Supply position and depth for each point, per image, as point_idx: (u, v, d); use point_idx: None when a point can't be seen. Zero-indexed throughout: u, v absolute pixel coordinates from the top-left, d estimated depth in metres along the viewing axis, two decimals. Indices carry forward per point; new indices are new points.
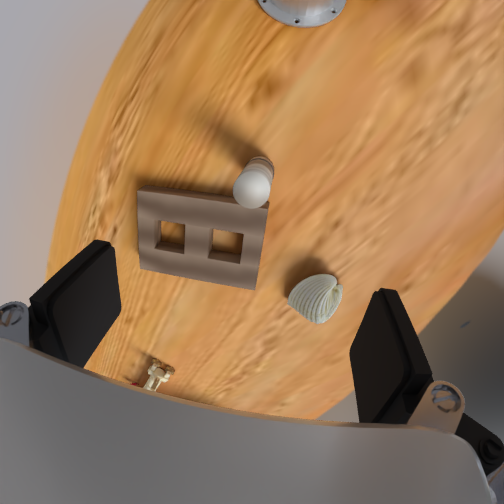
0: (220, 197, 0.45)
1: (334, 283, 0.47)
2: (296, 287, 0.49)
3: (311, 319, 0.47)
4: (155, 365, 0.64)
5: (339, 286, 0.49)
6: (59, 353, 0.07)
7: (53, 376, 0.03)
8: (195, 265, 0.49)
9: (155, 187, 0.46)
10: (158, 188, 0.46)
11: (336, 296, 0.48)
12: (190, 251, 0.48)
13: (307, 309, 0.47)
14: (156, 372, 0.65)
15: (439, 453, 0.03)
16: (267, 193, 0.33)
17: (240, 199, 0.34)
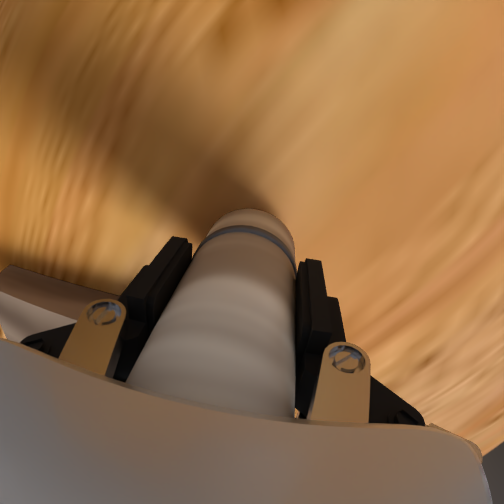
0: None
1: None
2: None
3: None
4: None
5: None
6: None
7: (53, 376, 0.03)
8: None
9: (21, 273, 0.17)
10: (24, 277, 0.17)
11: None
12: None
13: None
14: None
15: (439, 453, 0.03)
16: None
17: None
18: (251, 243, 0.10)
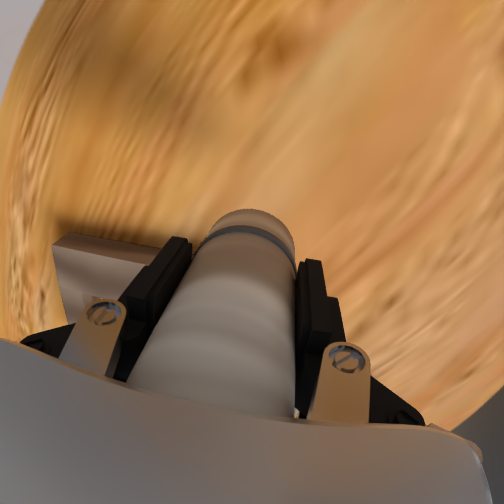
0: None
1: None
2: None
3: None
4: None
5: None
6: None
7: (53, 376, 0.03)
8: None
9: (82, 237, 0.25)
10: (86, 239, 0.25)
11: None
12: None
13: None
14: None
15: (439, 453, 0.03)
16: None
17: None
18: (251, 243, 0.10)
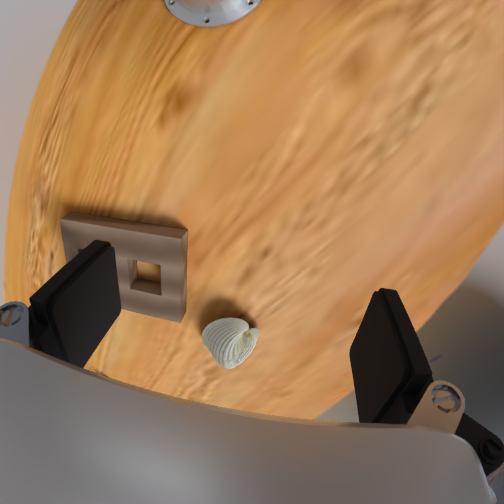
0: (136, 225, 0.40)
1: (244, 328, 0.43)
2: (205, 329, 0.45)
3: (220, 363, 0.43)
4: None
5: (252, 330, 0.45)
6: (59, 353, 0.07)
7: (53, 376, 0.03)
8: None
9: (78, 214, 0.41)
10: (81, 215, 0.41)
11: (249, 340, 0.44)
12: None
13: (215, 353, 0.43)
14: None
15: (439, 453, 0.03)
16: None
17: None
18: None
